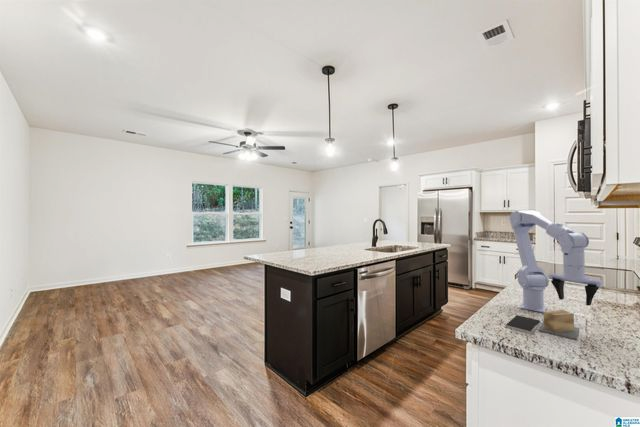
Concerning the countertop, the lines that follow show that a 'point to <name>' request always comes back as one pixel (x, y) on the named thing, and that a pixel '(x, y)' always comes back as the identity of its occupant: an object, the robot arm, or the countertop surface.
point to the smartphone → (523, 324)
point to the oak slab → (559, 320)
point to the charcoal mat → (567, 334)
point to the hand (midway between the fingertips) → (574, 301)
